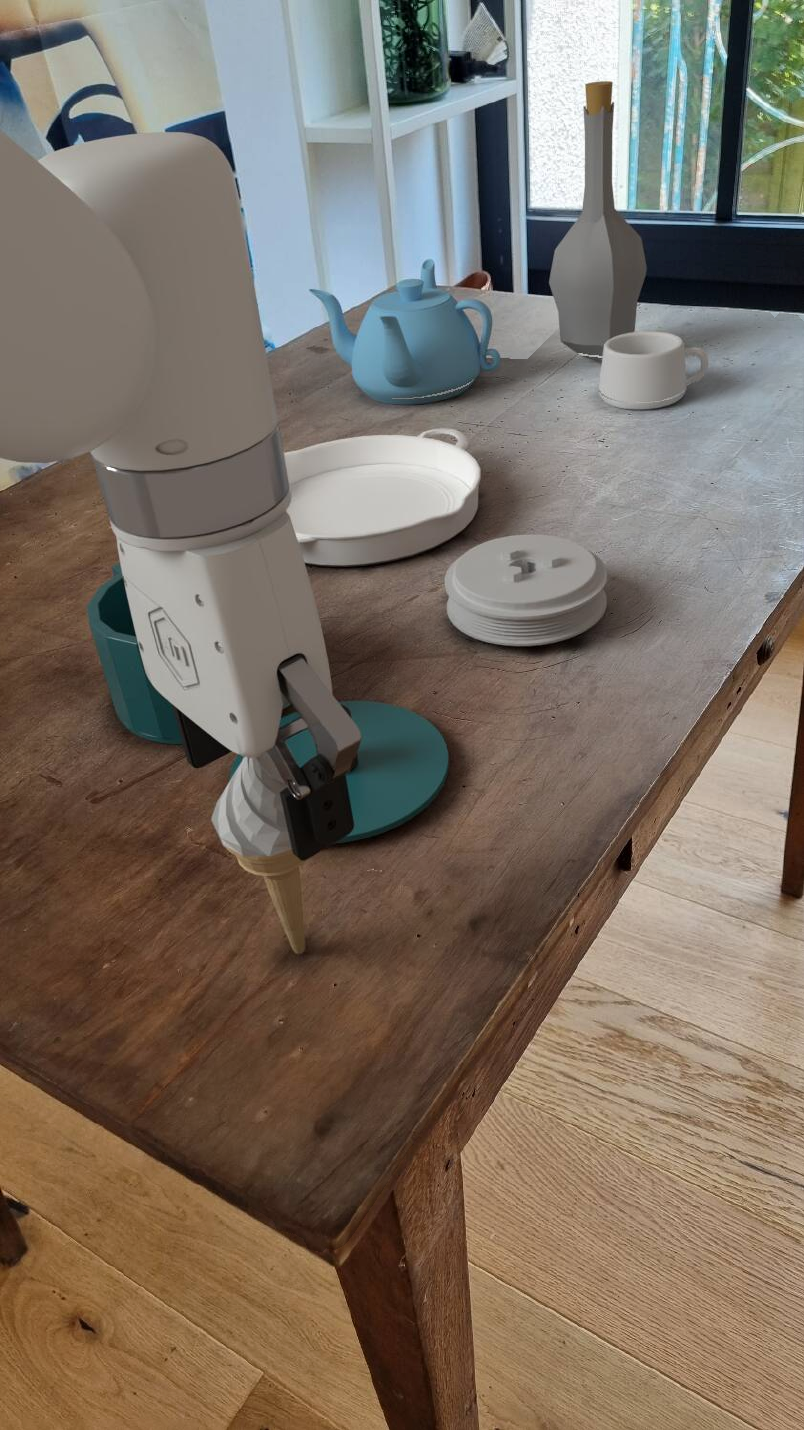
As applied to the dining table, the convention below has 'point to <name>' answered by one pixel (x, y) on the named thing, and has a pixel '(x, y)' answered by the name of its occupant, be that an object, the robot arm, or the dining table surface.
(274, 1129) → the dining table surface
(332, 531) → the pan
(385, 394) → the teapot
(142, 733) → the pot
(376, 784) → the pot lid
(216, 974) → the dining table surface
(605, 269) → the bottle
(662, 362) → the mug
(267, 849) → the ice cream cone
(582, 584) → the lid
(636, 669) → the dining table surface
